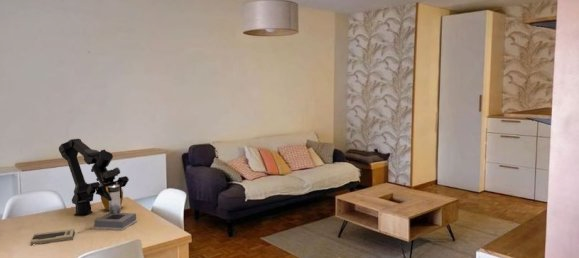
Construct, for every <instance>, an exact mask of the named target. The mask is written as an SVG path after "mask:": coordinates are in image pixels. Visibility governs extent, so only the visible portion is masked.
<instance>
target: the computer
mask: <svg viewBox="0 0 579 258" xmlns="http://www.w3.org/2000/svg"><path fill="white" fill-rule="evenodd" d="M74 237H75V228H71V229H63V230H56V231H55V230H54V231H46V232H40V233H39V232H37V233H34V234H33V235H32V237H31V239H30V246H34V245H33V244H38V245H43V243H45V244H51V243H50V242H53V243H59V241H60V242H65V241H67V242H68V241H73V240H74Z"/></svg>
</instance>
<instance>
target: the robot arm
mask: <svg viewBox="0 0 579 258" xmlns="http://www.w3.org/2000/svg"><path fill="white" fill-rule="evenodd" d="M58 152H59V154H60V155H61V157H62V158H63V159H64V160H65V161H67V165H68V167H69V172H70V174H71V176H72V179H73V182H74V186H75V187H74V190H73V197H72V199H71V203H72V204H73V205H75V213H74V214H73V215H74V216H80V217H81V216H84V217H85V216H87V215H90V214H92V213H93V210H92V204H91V202H93V200H94V195H97V196H98V195H99V196H100V197H101V196H102V197H104V198H106V199H107V200H109V201H111V198H110V196H109V194H108V192H107V190H106V187H108V185H112V184H119V185H120V198H122V193H121V188H124V187H126V185H127V184H128V182H129V181H130V179H129V177H128V176H126V175H125V176H120V177H118V176H119V175H120V174H121V169H120V168H119V167H114V168H113V169H109V170H108V168H107V167H108V166H109V165H110V164H111V162H112V160H113V158H114V155H113V153H111V152H110V151H108V150H106V149H101V150H100V151H99V150H97V149H92V148H90V147H89V146H88V145H87V144H85V142H83V141H82V139H81V138H72V139H69V140H68V141H65V142H63V143H61V144H60V145H59V146H58ZM78 154H80V155H81V156H82V157H83V161H84V163H86V164H87V165H88V166H89V165H92V166H91V169H90V172H92V173H93V172H94V175H95V176H96V179H95V180H96V182H90V183H87V181H86V180H85V177H84V174H83V171H82V168H81V165H80V162H79V159H78ZM116 177H117V178H118V179H117V180H116Z"/></svg>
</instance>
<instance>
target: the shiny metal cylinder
mask: <svg viewBox="0 0 579 258" xmlns="http://www.w3.org/2000/svg"><path fill="white" fill-rule="evenodd" d="M108 194H109V196H110V198H111V201H109V210H108V211H109V212H108V213H110V214H117V213H122V212H121V211H122V207H121V206H122V204H121V205H120V185H119V184H112V185H108Z"/></svg>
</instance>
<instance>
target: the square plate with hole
mask: <svg viewBox="0 0 579 258" xmlns="http://www.w3.org/2000/svg"><path fill="white" fill-rule="evenodd" d="M93 222H94V229H95V230H111V231H116V230H117V231H123V230H124V231H125V230H126V229H127V228H129V227H131V226H132V225H134V224H135V223H136V222H137V213H133V212H132V213H128V212H120V213H117V214H110V213H109V212H108V213H106V214H104V215H102V216H100V217H98V218H95V219H94V221H93Z"/></svg>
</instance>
